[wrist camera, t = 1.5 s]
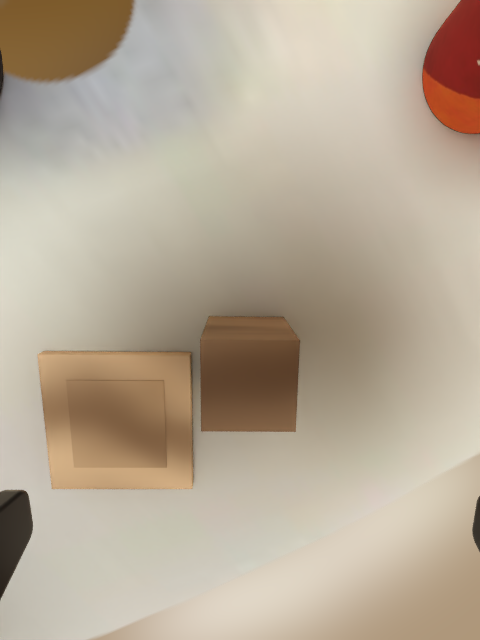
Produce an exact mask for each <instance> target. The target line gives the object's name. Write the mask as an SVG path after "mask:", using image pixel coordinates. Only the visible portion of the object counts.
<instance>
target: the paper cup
mask: <svg viewBox="0 0 480 640" xmlns="http://www.w3.org/2000/svg"><path fill="white" fill-rule="evenodd" d="M422 78H423V89H424V94H425V97H426V100H427V103H428V105H429V107H430V109H431V111H432V112H433V114H434V115H435V116H436V117H437V118H438V119H439V120H440V121H441V122H442V123H443V124H444V125H446V126H447V127H449V128H451V129H453V130H455V131H458V132H462V133H469V134H476V133H480V0H461V1H460V2H459V4H458V5H457V6H456V8H455V9H454V10H453V11H452V13H451V14H450V15H449V17H448V18H447V19H446V20H445V22H444V23H443V25H442V26H441V27H440V29H439V30H438V32H437V33H436V35H435V37H434V38H433V40H432V42H431V44H430V46H429V48H428V51H427V54H426V57H425V61H424V66H423V76H422Z"/></svg>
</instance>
